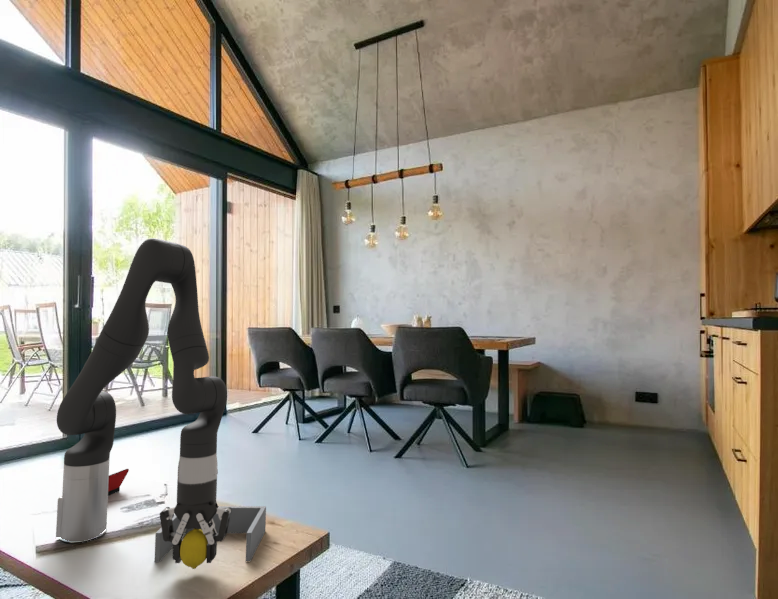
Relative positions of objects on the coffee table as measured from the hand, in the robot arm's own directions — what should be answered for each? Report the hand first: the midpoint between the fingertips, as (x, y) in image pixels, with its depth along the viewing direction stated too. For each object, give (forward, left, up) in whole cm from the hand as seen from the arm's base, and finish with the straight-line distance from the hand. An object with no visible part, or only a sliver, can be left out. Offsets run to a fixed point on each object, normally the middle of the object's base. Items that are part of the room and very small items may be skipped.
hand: (194, 560), depth 97 cm
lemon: (0, 0, -2) cm, 2 cm away
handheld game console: (-42, +43, -3) cm, 60 cm away
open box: (0, +12, -3) cm, 13 cm away
